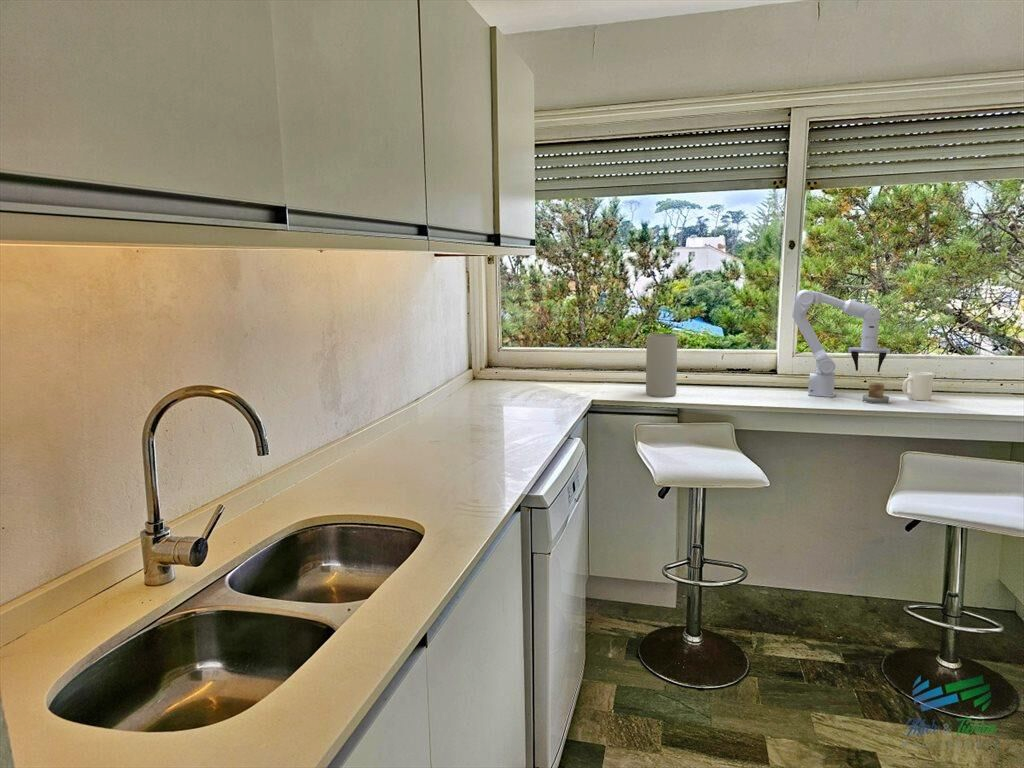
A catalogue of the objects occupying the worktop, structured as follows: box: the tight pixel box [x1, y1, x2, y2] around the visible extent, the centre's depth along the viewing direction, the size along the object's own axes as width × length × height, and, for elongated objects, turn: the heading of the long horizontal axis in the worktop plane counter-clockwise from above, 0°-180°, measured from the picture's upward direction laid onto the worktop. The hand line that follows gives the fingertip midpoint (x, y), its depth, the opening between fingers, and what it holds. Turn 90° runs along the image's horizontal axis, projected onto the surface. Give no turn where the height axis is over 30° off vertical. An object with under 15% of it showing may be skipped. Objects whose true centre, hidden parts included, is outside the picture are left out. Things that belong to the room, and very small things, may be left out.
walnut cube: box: [868, 382, 885, 398], centre depth 261 cm, size 5×5×5 cm
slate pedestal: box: [862, 393, 890, 404], centre depth 262 cm, size 9×9×2 cm
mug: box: [901, 371, 934, 401], centre depth 264 cm, size 12×8×10 cm
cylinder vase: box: [645, 333, 678, 398], centre depth 283 cm, size 12×12×25 cm
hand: (867, 371), depth 270 cm, fingers open, 7 cm apart
